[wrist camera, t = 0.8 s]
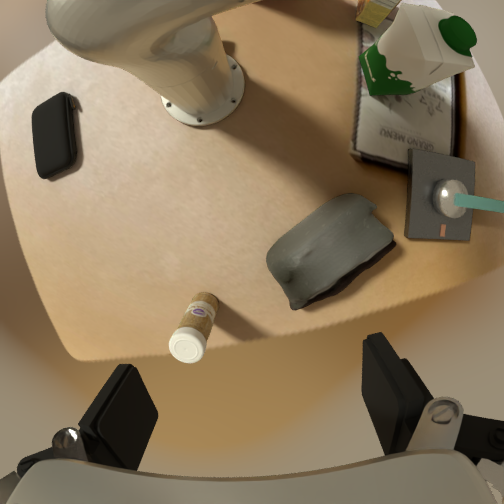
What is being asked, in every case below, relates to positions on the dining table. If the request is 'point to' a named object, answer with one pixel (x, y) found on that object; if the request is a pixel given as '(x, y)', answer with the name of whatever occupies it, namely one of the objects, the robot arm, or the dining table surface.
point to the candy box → (374, 11)
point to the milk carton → (418, 51)
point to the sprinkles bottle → (194, 329)
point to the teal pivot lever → (460, 199)
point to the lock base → (421, 195)
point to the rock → (328, 250)
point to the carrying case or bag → (54, 135)
